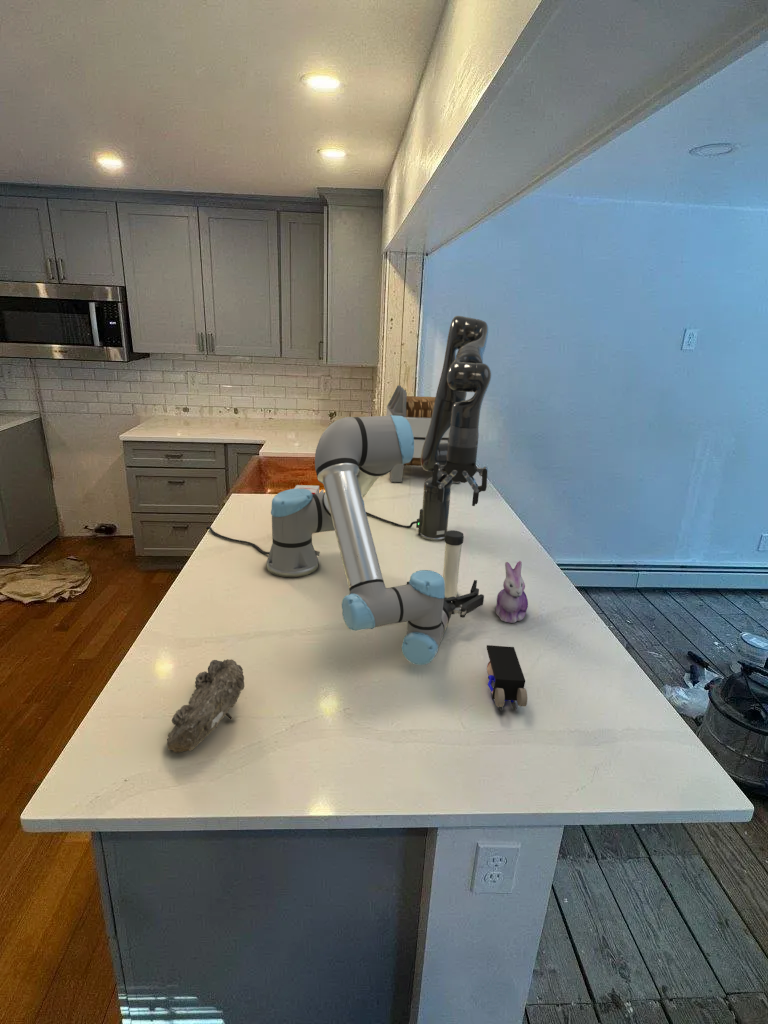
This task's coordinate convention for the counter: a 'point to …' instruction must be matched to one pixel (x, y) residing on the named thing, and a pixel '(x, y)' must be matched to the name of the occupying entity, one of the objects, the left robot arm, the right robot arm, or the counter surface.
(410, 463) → the transformer
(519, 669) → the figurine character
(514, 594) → the figurine
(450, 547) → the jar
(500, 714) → the counter surface
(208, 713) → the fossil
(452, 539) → the lid
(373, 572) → the left robot arm
